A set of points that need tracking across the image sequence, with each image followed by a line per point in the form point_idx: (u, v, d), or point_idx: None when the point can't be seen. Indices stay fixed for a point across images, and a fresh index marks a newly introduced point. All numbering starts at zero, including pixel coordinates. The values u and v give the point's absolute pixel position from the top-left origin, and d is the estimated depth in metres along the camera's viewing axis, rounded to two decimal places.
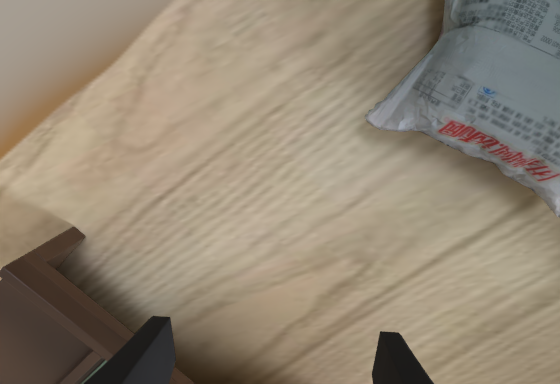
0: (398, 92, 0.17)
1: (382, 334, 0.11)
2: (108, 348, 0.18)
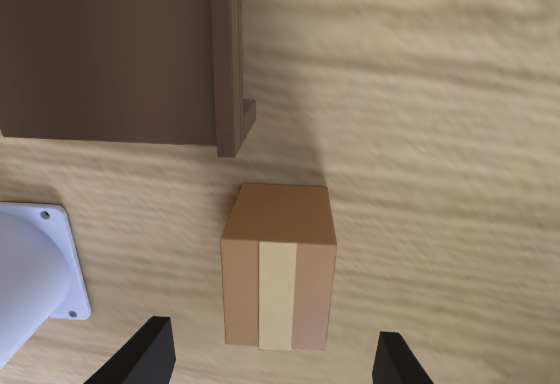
0: None
1: (381, 334, 0.11)
2: None
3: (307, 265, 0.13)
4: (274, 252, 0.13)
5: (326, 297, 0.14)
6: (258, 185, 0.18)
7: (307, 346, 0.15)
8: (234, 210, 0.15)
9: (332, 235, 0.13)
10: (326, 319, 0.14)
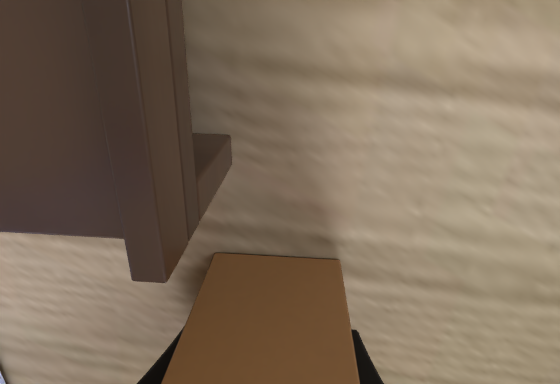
0: None
1: None
2: None
3: None
4: None
5: None
6: (237, 258, 0.12)
7: None
8: (191, 319, 0.09)
9: None
10: None
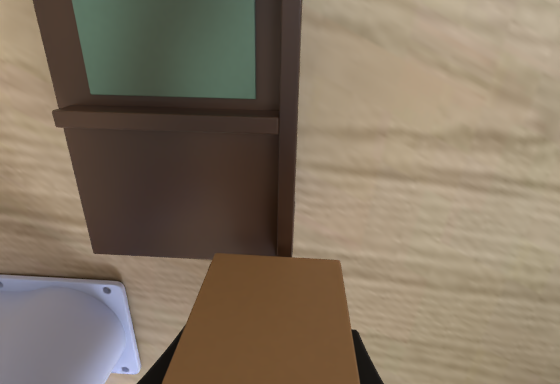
0: None
1: None
2: None
3: None
4: None
5: None
6: (237, 258, 0.12)
7: None
8: (192, 319, 0.09)
9: None
10: None
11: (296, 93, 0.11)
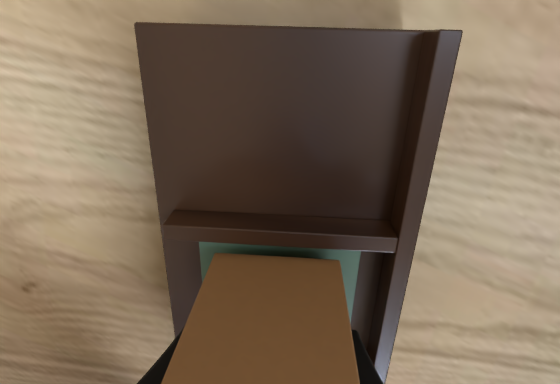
0: None
1: None
2: (413, 250, 0.11)
3: None
4: None
5: None
6: (237, 258, 0.12)
7: None
8: (191, 319, 0.09)
9: None
10: None
11: (385, 376, 0.14)
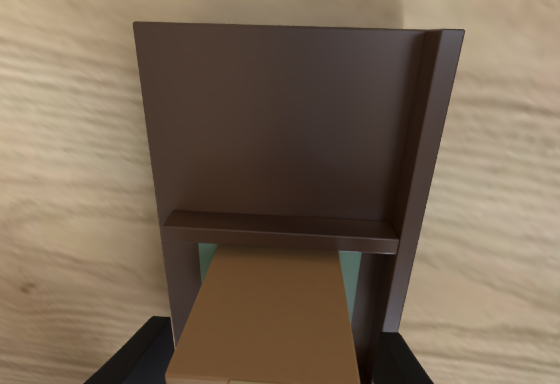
0: None
1: (382, 334, 0.11)
2: (415, 251, 0.11)
3: None
4: None
5: None
6: (240, 248, 0.12)
7: None
8: (198, 303, 0.10)
9: (352, 363, 0.08)
10: None
11: None
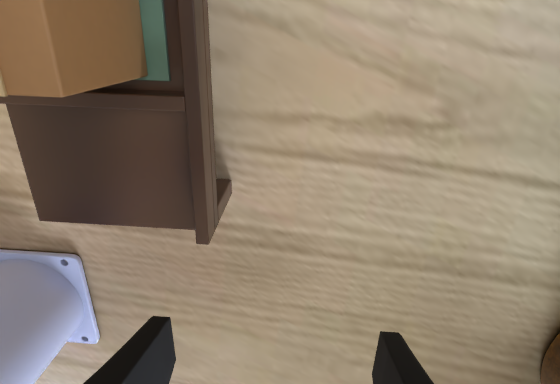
0: None
1: (381, 334, 0.11)
2: None
3: None
4: None
5: None
6: None
7: (30, 86, 0.09)
8: None
9: None
10: (41, 18, 0.08)
11: (197, 75, 0.13)
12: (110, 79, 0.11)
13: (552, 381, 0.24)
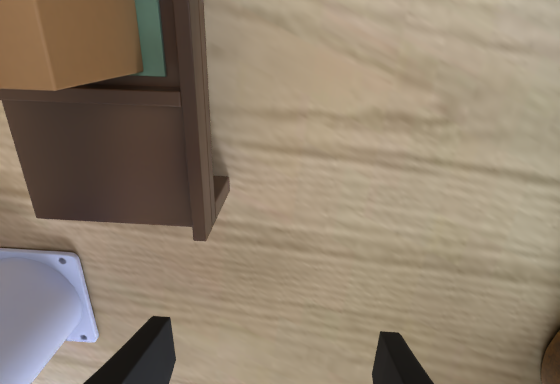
0: None
1: (381, 334, 0.11)
2: None
3: None
4: None
5: None
6: None
7: (23, 79, 0.09)
8: None
9: None
10: (32, 10, 0.08)
11: (192, 70, 0.13)
12: (104, 73, 0.11)
13: (552, 378, 0.24)
